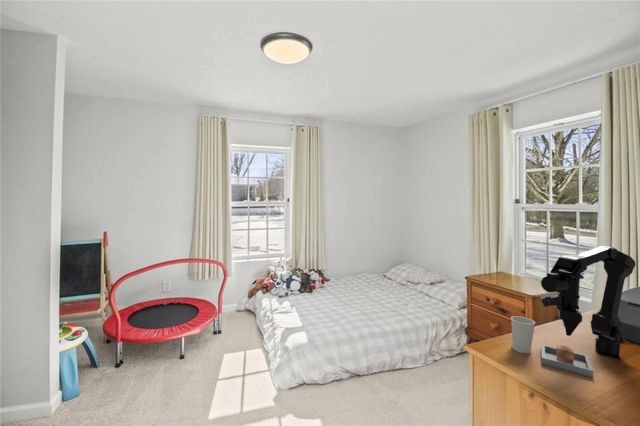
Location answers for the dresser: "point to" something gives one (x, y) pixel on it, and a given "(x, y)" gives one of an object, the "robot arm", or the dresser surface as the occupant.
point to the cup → (522, 333)
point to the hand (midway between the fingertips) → (566, 331)
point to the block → (565, 354)
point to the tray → (579, 364)
